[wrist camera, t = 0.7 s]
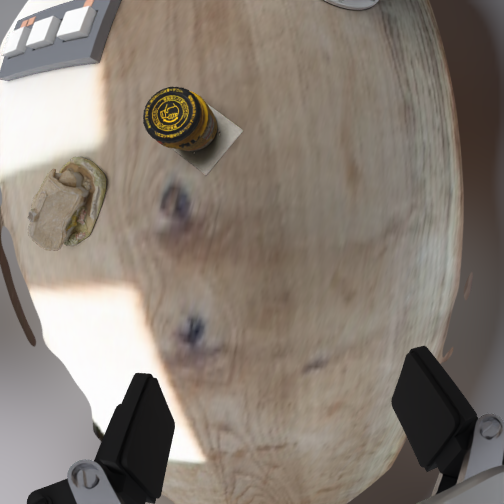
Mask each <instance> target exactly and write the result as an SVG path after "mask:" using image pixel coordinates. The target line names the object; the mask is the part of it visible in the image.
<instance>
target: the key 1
mask: <svg viewBox="0 0 504 504" xmlns="http://www.w3.org/2000/svg"><path fill="white" fill-rule="evenodd" d="M31 30H32V29H29V28H27V27H25V26H24V27H22V28H19V29H17V30H15V31H12V32H10V33H9V35H8V37H7V40H6V43H5V45H4V48H3V51H2V54H1V55H2V56H6V57H9V58H13V57H15V56H18V55H21V54H24V53H25V51H26V48H27V46H26V43H27V40H28V38H29V35H30V32H31Z"/></svg>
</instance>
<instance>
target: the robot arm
mask: <svg viewBox="0 0 504 504" xmlns="http://www.w3.org/2000/svg"><path fill="white" fill-rule="evenodd" d="M324 1H326V2H328V3H331V4H333V5H336V6H339V7H342V8H346V9H353V10H363V9H367V8H370V7H372V6H374V5H375V4H376V3H377V2H378V1H379V0H324ZM392 407H393V409H394V411H395V413H396V415H397V417H398V419H399V421H400V423H401V425H402V427H403V429H404V431H405V433H406V436H407V438H408V440H409V442H410V444H411V446H412V448H413V450H414V453H415V455H416V457H417V459H418V462H419V464H420V466H421V467H425V469H426V471H427V472H428V471H430V470H432V469H435V468H437V467H438V469H439V471H440V473H439V476H438V479H437V482H436V485H435V487H434V490H433V493H432V495H431V497H430V498H428V499H426V500H423V501H421V502H419V503H416V504H504V422H503V420H502V419H501V418H500V417H499V416H497V415H495V414H485V415H482V416H481V417H480V418H479V419H478V417H477V414H476V412H475V411H474V409H473V408H472V407H471V405H470V404H469V402H468V401H467V399H466V398H465V397H464V395H463V394H462V393H461V391H460V390H459V389H458V387H457V386H456V384H455V383H454V382H453V381H452V379H451V378H450V377H449V375H448V374H447V373H446V371H445V370H444V369H443V367H442V366H441V365H440V363H439V362H438V361H437V360H436V358H435V357H434V356H433V355H432V353H431V352H430V351H429V350H428V348H427V347H426V346H421V347H417V348H413V349H411V350H410V352H409V353H408V354H407V355H406V358H405V361H404V365H403V368H402V371H401V374H400V377H399V380H398V383H397V386H396V389H395V391H394V394H393V397H392ZM174 429H175V422H174V419H173V417H172V415H171V412H170V410H169V408H168V405H167V403H166V400H165V398H164V396H163V393H162V391H161V388H160V385H159V383H158V380H157V378H153V376H152V375H151V374H146V373H136V374H135V375H134V377H133V379H132V381H131V383H130V385H129V388H128V390H127V392H126V395H125V397H124V399H123V402H122V404H119V405H118V406H117V407H116V409H115V411H114V414H113V416H112V418H111V421H110V423H109V425H108V428H107V430H106V432H105V435H104V437H103V440H102V442H101V445H100V447H99V450H98V452H97V455H96V458H95V460H94V461H92V460H80V461H78V462H76V463H74V464H73V465H72V466H71V467H70V469H69V471H68V476H67V477H68V478H67V479H65V480H62V481H60V482H57V483H55V484H52V485H49V486H47V487H44V488H41V489H38V490H35V491H34V492H32V493H31V494H30V495H29V497H28V499H27V504H145V502H148V503H154V504H155V501H156V498H159V497H160V496H161V492H162V487H163V482H164V477H165V472H166V467H167V462H168V457H169V452H170V448H171V443H172V439H173V434H174Z"/></svg>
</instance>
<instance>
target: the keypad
mask: <svg viewBox="0 0 504 504" xmlns="http://www.w3.org/2000/svg"><path fill="white" fill-rule="evenodd" d="M120 2H121V0H73V1H70V2H67V3H63V4H60V5H57V6H54V7H51V8H49V9H46V10H43V11H40V12H38V13H35V14H33V15H30V16H28V17H26V18H23V19H21V20H19V21H18V22H17V24H16V27H15V29H14V31H15V30H17V29H19V28H22V27H24V26H25V27H27V28H29V29H32V27H33V25H34V22H37V21H40V20H42V19H45V18H48V17H51V16H55V17H57V18H58V19H60V20H63V18H64V15H65V13H66V12H67V11H71V10H74V9H78V8H82V7H86V6H90V7H91V8H93V9H94V10H95V11H96V12H97V15H96V17H95V20H94V23H93V25H92V28H91V31H90V33H89V36H88V37H87V38H82V39H76V40H72V41H67V42H66V41H64V40H62V39H60V38H59V37H57V35H56V38H55V41H54V44H53V45H51V46H47V47H44V48H40V49H37V50H35V49H33V48H30V47H27V48H26V51H25V53H24V54H21V55H18V56H15V57H13V58H9V57H6V56H5V57H4V60H3V63H2V67H1V70H0V80H5V81H10V80H13V79H17V78H20V77H24V76H28V75H32V74H36V73H40V72H45V71H50V70H54V69H60V68H65V67H71V66H78V65H85V64H92V63H100V59H101V56H102V52H103V49H104V46H105V43H106V40H107V37H108V34H109V31H110V28H111V25H112V23H113V20H114V17H115V15H116V12H117V10H118V7H119V5H120ZM61 23H62V22H61ZM59 28H60V27H59ZM57 33H58V32H57Z"/></svg>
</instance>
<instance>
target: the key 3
mask: <svg viewBox="0 0 504 504" xmlns="http://www.w3.org/2000/svg"><path fill="white" fill-rule="evenodd" d="M96 15H97V12H96V11H95V10H94V9H93V8H91V7H90V6H86V7H82V8H78V9H74V10H71V11H67V12H66V13H65V15H64V18H63V20H62V23H61V25H60V28H59V30H58V33H57V37H59V38H60V39H62V40H64V41H66V42H67V41H72V40H76V39H82V38H87V37H88V36H89V33H90V31H91V28H92V25H93V23H94V20H95V17H96Z"/></svg>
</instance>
